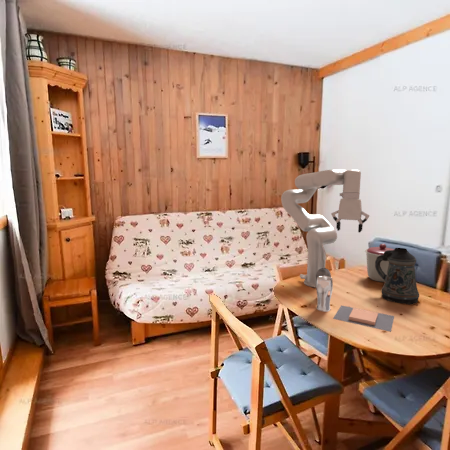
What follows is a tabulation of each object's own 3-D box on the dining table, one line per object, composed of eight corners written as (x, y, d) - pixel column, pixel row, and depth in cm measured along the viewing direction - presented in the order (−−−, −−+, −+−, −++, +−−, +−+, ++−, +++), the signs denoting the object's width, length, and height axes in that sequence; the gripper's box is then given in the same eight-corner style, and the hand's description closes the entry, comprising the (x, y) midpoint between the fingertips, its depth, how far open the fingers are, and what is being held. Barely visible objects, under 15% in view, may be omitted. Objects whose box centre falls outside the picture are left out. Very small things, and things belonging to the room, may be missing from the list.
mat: (332, 319, 136) (332, 318, 136) (341, 306, 150) (341, 305, 150) (390, 332, 125) (390, 331, 125) (394, 317, 138) (394, 316, 138)
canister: (404, 284, 178) (407, 247, 174) (371, 284, 178) (374, 247, 174) (388, 274, 195) (391, 240, 192) (358, 274, 196) (360, 240, 192)
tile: (353, 311, 143) (348, 319, 135) (353, 307, 143) (348, 316, 134) (377, 316, 138) (374, 325, 130) (378, 312, 138) (375, 322, 129)
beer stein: (424, 306, 149) (429, 254, 145) (379, 303, 153) (383, 252, 149) (411, 293, 165) (415, 245, 161) (371, 290, 169) (374, 244, 165)
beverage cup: (330, 296, 161) (332, 258, 158) (330, 302, 154) (332, 262, 151) (315, 295, 164) (316, 256, 160) (314, 300, 157) (315, 260, 154)
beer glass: (313, 306, 149) (314, 275, 147) (327, 306, 150) (329, 275, 147) (318, 313, 142) (320, 281, 140) (333, 312, 143) (335, 280, 140)
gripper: (330, 195, 155) (328, 230, 158) (369, 197, 146) (366, 234, 149) (334, 195, 161) (332, 228, 164) (371, 196, 152) (369, 231, 155)
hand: (348, 231), depth 156 cm, fingers open, 9 cm apart
